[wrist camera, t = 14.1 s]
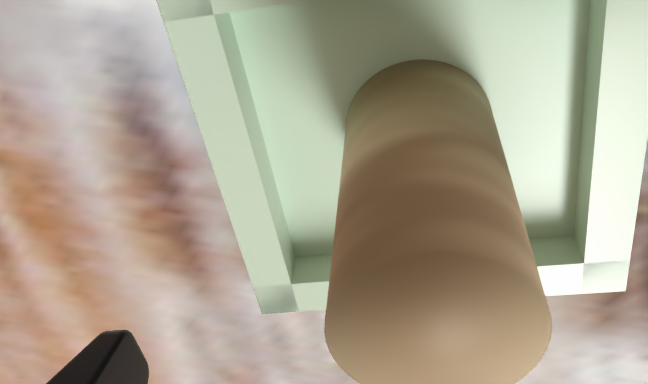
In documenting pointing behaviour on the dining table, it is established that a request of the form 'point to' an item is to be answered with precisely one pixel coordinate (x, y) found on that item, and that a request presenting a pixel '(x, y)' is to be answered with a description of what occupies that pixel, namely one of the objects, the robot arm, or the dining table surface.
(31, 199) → the dining table surface
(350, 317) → the dowel
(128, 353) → the robot arm
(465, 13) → the tray
